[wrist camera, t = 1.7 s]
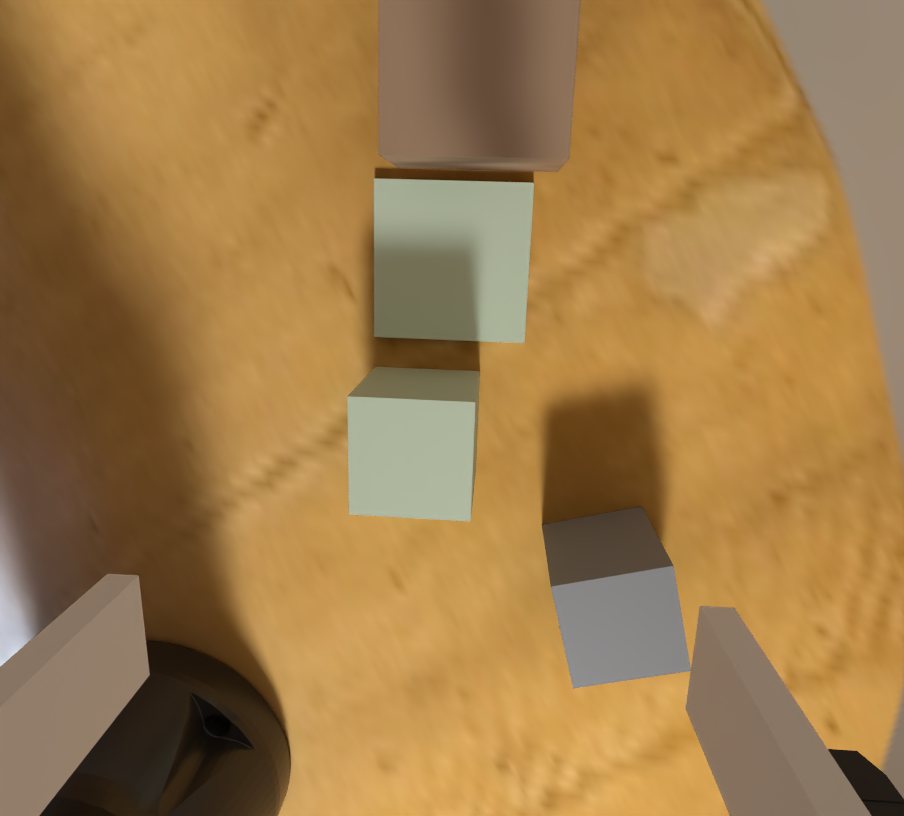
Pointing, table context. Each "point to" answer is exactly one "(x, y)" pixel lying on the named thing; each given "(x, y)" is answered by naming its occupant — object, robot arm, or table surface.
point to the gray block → (615, 598)
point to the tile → (451, 259)
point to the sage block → (413, 443)
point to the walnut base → (477, 83)
